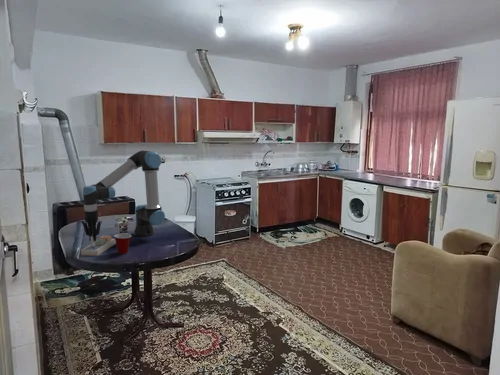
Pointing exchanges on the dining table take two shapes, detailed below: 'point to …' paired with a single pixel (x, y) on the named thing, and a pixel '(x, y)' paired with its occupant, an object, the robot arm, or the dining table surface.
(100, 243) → the tile two
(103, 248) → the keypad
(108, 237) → the tile one
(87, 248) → the tile three
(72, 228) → the dining table surface
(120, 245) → the plastic cup
